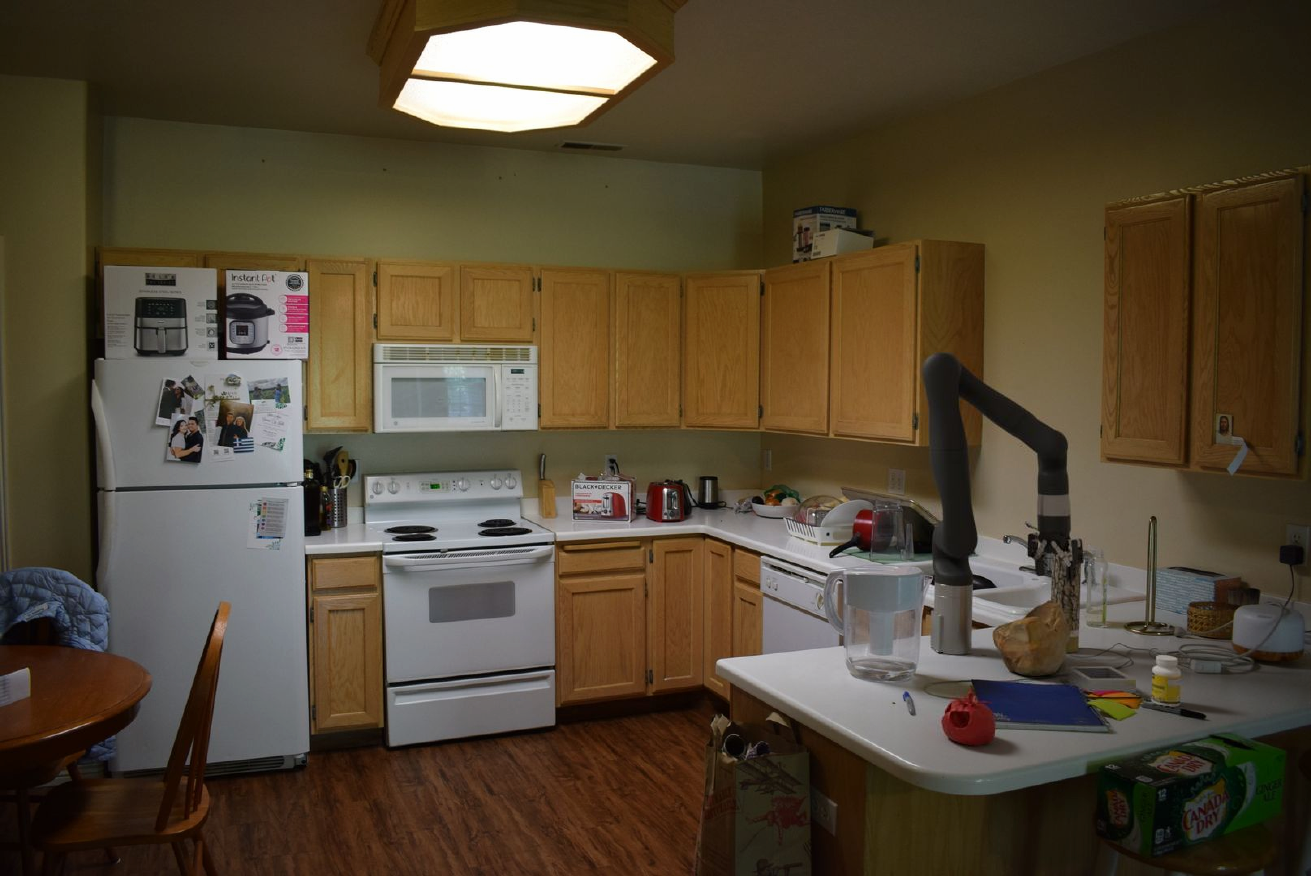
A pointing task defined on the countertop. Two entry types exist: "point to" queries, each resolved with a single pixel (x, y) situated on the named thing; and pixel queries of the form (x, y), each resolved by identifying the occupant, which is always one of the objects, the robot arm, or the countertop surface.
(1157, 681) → the supplement bottle
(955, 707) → the pomegranate
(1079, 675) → the shallow grey tray
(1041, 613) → the rough brown rock
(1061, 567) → the brown bark log
